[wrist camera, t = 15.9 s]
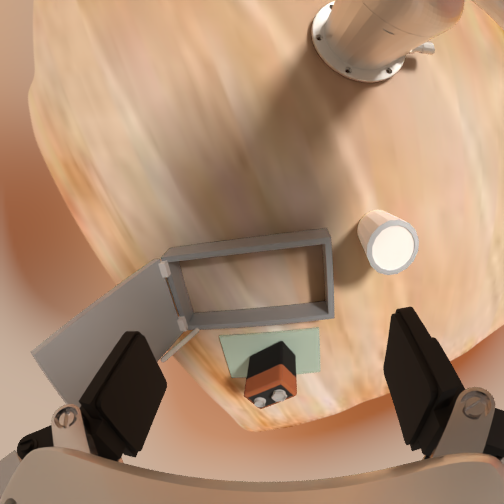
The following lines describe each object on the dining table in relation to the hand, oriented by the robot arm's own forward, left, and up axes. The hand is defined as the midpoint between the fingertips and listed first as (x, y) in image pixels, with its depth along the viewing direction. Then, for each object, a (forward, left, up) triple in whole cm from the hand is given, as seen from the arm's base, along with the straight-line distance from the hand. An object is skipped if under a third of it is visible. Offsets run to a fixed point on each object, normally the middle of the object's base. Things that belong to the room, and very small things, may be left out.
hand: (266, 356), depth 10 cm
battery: (+4, +26, -28) cm, 38 cm away
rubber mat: (+4, +26, -28) cm, 39 cm away
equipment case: (+5, +11, -28) cm, 31 cm away
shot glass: (-13, +6, -28) cm, 32 cm away
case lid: (+19, +11, -14) cm, 26 cm away
